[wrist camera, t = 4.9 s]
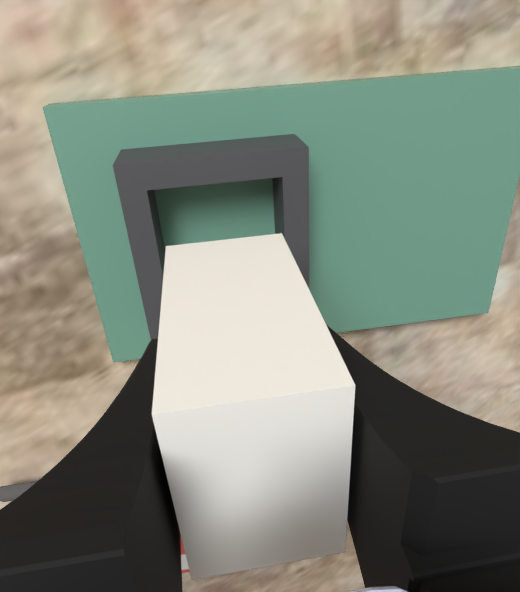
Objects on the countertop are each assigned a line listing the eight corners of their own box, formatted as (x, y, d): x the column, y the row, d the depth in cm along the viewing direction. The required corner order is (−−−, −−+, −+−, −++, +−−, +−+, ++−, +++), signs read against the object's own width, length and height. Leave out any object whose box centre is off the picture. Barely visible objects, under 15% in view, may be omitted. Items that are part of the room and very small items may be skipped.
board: (528, 65, 20) (590, 71, 17) (478, 303, 26) (516, 339, 23) (49, 103, 18) (22, 118, 15) (115, 350, 24) (106, 396, 21)
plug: (282, 233, 14) (355, 385, 8) (286, 362, 17) (344, 552, 11) (165, 246, 14) (151, 414, 8) (188, 376, 16) (191, 579, 10)
